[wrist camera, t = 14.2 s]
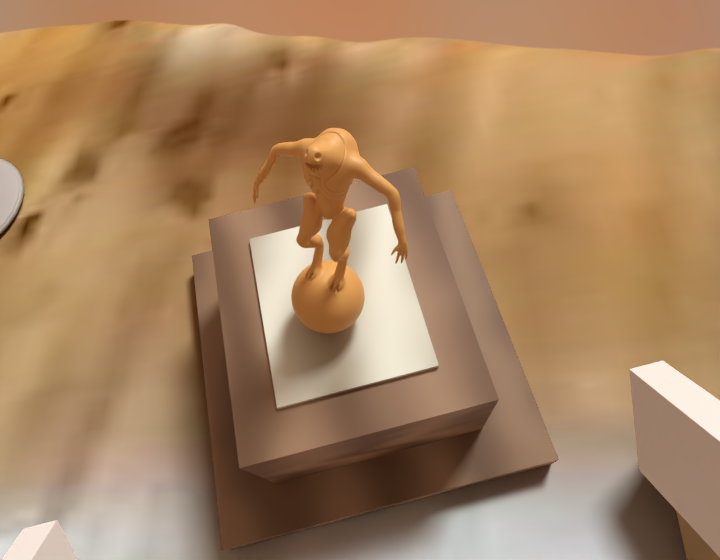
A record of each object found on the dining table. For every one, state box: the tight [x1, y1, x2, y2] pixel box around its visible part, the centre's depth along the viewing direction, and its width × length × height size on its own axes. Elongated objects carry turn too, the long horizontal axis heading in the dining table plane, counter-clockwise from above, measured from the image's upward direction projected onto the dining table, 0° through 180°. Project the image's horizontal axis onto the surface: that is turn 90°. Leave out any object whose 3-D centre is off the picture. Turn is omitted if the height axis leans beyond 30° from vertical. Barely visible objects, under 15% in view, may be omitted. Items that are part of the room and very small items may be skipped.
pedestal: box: [192, 168, 559, 550], centre depth 35 cm, size 22×22×10 cm
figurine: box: [253, 128, 408, 333], centre depth 25 cm, size 8×6×12 cm
